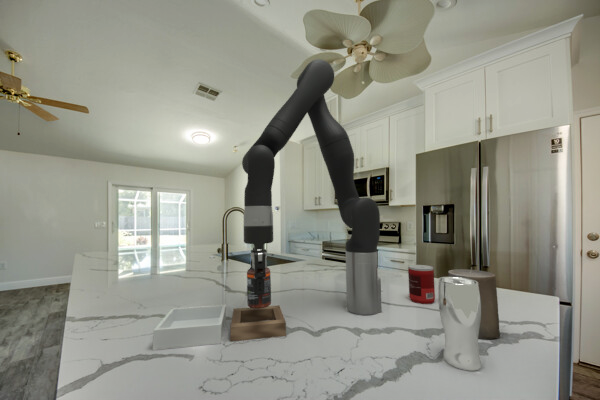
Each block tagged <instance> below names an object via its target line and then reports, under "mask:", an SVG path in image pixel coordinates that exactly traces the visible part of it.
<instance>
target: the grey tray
mask: <svg viewBox="0 0 600 400" xmlns="http://www.w3.org/2000/svg"><path fill="white" fill-rule="evenodd" d="M226 321H227V304H220V305H219V304H218V305H216V304H215V305H202V306H191V307H190V306H189V307H174V308H171V309H170V310H169V311H168V313H166V315H165V316H164V317H163V318H162V319H161V321H160V322H159V323H158V324H157V326H156V327H155V328H154V329H153V330H152V331H153V333H152V351H158V350H166V349H167V350H169V349H176V348H177V349H179V348H190V347H197V346H198V347H200V346H210V345H218V344H219V345H220V344H222V340H223V336H224V331H225V325H226Z"/></svg>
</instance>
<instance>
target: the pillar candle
mask: <svg viewBox="0 0 600 400" xmlns="http://www.w3.org/2000/svg"><path fill="white" fill-rule="evenodd" d="M448 277H460V278H467V279H472V280H475V281H477V282H478V286H479V292H480V300H481V321H480V328H479V335H478V339H481V340H483V339H484V340H492V339H499V338H500V337H501V333H500V318H499V303H498V302H499V301H498V291H497V279H496V274H494V273H493V272H490V271H485V270H479V269H478V270H477V269H473V267H470V269H463V268H462V269H457V268H456V269H451V270H448Z"/></svg>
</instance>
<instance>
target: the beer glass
mask: <svg viewBox="0 0 600 400" xmlns="http://www.w3.org/2000/svg"><path fill="white" fill-rule="evenodd" d="M437 290H438V292H437V294H438V295H437V297H438V299H437V301H438V310H439V316H440V319H441V324H442V328H443V333H444V348H443V359H444V362H446V363H447V364H448V365H449V366H450V365H451V366H452V367H454V368H456V369H458V370H459V369H460V370H462V371H463V370H464V371H467V372H469V371H470V372H475V371H479V370H481V369H482V360H481V356H480V352H479V345H478V344H479V338H478V335H479V328H480V321H481V300H480V292H479V286H478V282H477V281H475V280H472V279H467V278H460V277H449V276H441V277H438V287H437Z"/></svg>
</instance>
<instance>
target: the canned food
mask: <svg viewBox="0 0 600 400" xmlns="http://www.w3.org/2000/svg"><path fill="white" fill-rule="evenodd" d="M407 269H408V270H407V271H408V273H407V275H408V290H409V291H408V294H409V296H408V297H409V300H410V301H411V302H412V303H416V304H421V305H432V304H434V303H435V301H436V294H435V291H436V290H435V270H434V267H433V266H431V265H427V264H426V265H425V264H424V265H423V264H410V265H408V267H407Z"/></svg>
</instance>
